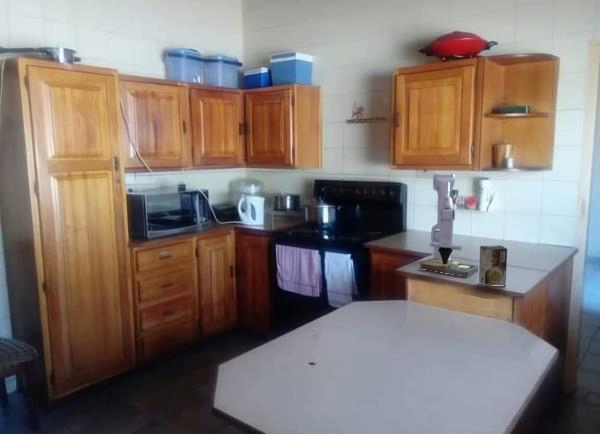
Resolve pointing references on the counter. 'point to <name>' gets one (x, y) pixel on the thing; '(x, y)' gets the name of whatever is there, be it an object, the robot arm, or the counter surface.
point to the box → (463, 273)
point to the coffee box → (492, 265)
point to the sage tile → (454, 265)
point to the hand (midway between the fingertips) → (445, 263)
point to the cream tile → (463, 268)
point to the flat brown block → (436, 265)
